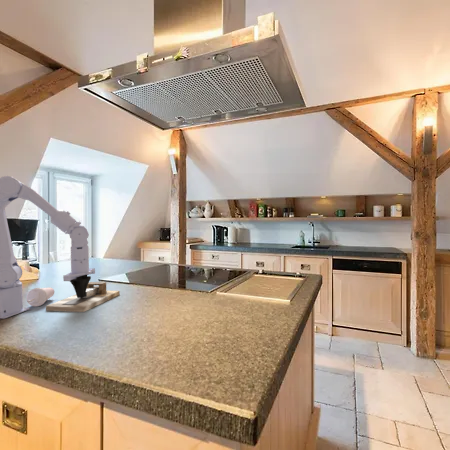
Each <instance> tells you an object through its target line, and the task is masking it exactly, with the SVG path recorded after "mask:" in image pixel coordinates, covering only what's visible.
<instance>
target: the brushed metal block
mask: <svg viewBox="0 0 450 450" xmlns="http://www.w3.org/2000/svg"><path fill="white" fill-rule="evenodd" d="M97 293H99V285H94V286H93V287H90V288H88V289H86V293H85V297H83V298H88V297H90V296H93V295H95V294H97Z"/></svg>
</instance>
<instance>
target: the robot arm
mask: <svg viewBox="0 0 450 450" xmlns="http://www.w3.org/2000/svg"><path fill="white" fill-rule="evenodd" d="M19 198H20V199H22V200H26V201H30V202H31V203H32V204H33V205H35V206H36V207H37V208H39V209H40V210H42V211H43V212H44V213H45V214H46V215H48V216H49V217H50V218H49V219H50V223H51V224H53V226H55V227H57V229H58V230H60V231H62V232H63V233H64V234H65V235H69V238H70V240H71V243H70V244H71V246H70V272H69V273H67V274H65V275H63V277H62V278H63V282H70V284H71V285H72V286H73V290H74V291H75V295H77V298H83V297H85V293H86V289H87V286H88V283H89V282H91V278H92V276H91V275H93V274H94V275H95V274H96V268H94V267H93V268H91V267H90V264H89V263H90V257H89V255H90V254H89V253H90V252H89V250H90V249H89V241H88V239H89V232H88V229H87V228H86V227H85V226H84V225H81V224H82V222H81V221H77V220H76V219H75V218H74V217H73V216H71V213H70V212H69V211H67V210H66V211H65V210H64V209H57V208H56V207H54V206H53V205H52V204H51V203H50V202H49V201H47V200H46V199H45V198H44V197H43V196H41V194H39V193H38V192H37V191H36V190H34V189H33V188H31V187H29V186H28V185H27V184H24V183H23V182H21V180H18V179H17V178H15V177H13V176H9V175H4V176H1V177H0V319H3V320H5V319H8V318H10V317H12V316H15V315H18V314H21V313H23V312H26V311H29V310H30V307H24V306H23V305H24V304H23V303H24V302H23V300H24V299H23V282H22V281H21V280H20V279H21V278H22V277H23V269H22V267H21V266H20V265H19V264H18V260H17V258H16V256H15V253H14V248H13V244H12V239H11V232H10V228H9V224H8V219H7V213H6V207H8V205H10V204H11V203H12V202H13V201H15V200H17V199H19Z"/></svg>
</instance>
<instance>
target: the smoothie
mask: <svg viewBox="0 0 450 450" xmlns="http://www.w3.org/2000/svg"><path fill="white" fill-rule="evenodd" d="M54 295H55V289H54V288H52V287H35V288H33V289H30V290H29V291H28V292H27V294H26V301H27V304H29V305H30V306H31V307H36V308H37V307H41V306H42V305H44V304H45V302H46V301H48V300H50V298H52V297H54Z"/></svg>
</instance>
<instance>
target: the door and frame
mask: <svg viewBox="0 0 450 450" xmlns="http://www.w3.org/2000/svg"><path fill="white" fill-rule="evenodd" d="M93 286H99V293H97V294H95V295H93V296H90V297H88V298H77V295H76V294H74V295H71V296H69V297H66V298H64V299H60V300H58V301H55V302H53V303H50V304H47V305H46V306H45V311H48V312H49V311H51V312H72V313H73V312H75V313H77V312H78V313H85V312H86V311H89V310H91V309H93V308H95V307H97V306H100V305H102V304H103V303H105V302H107V301H109V300H112V299H114V298H115V297H118V296H120V293H121V291H120V290H107V282H106V281H89V283H88V286H87V289H88V288H90V287H93Z"/></svg>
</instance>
